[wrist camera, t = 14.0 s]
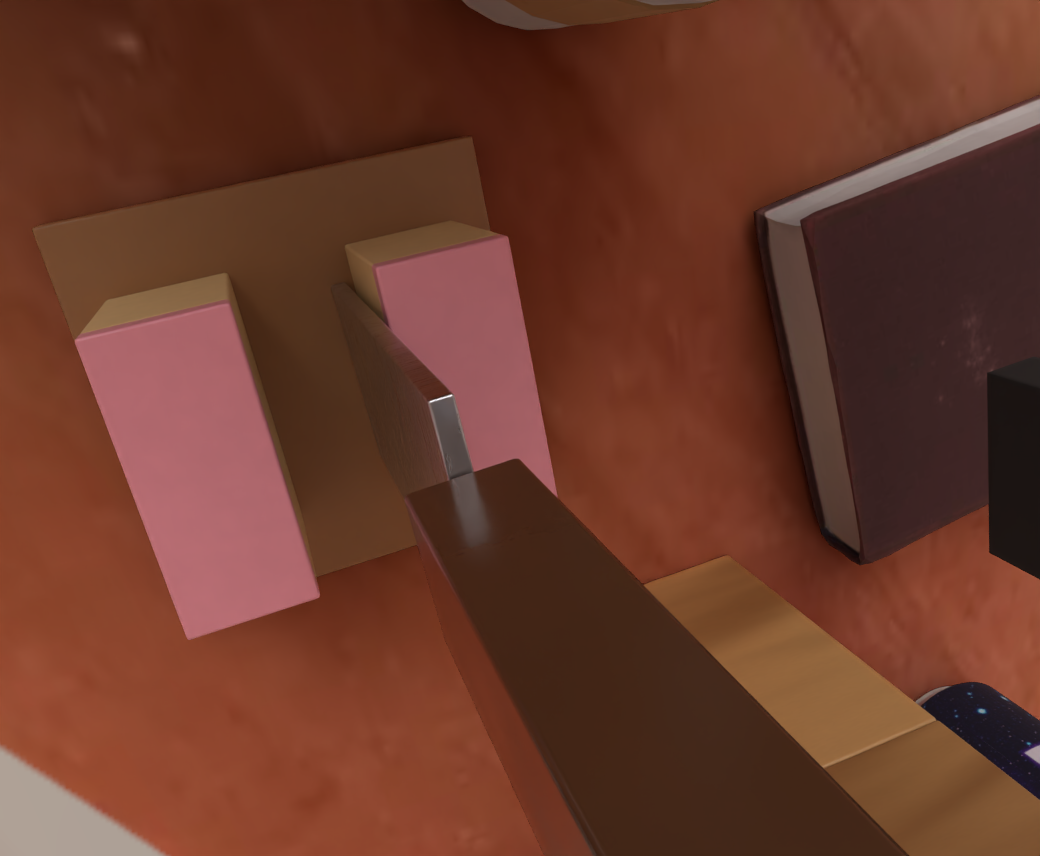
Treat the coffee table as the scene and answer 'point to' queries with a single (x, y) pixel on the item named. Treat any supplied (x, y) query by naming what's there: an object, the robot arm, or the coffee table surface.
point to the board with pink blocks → (289, 362)
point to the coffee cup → (574, 11)
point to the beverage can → (991, 728)
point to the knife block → (854, 719)
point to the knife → (586, 657)
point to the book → (906, 324)
